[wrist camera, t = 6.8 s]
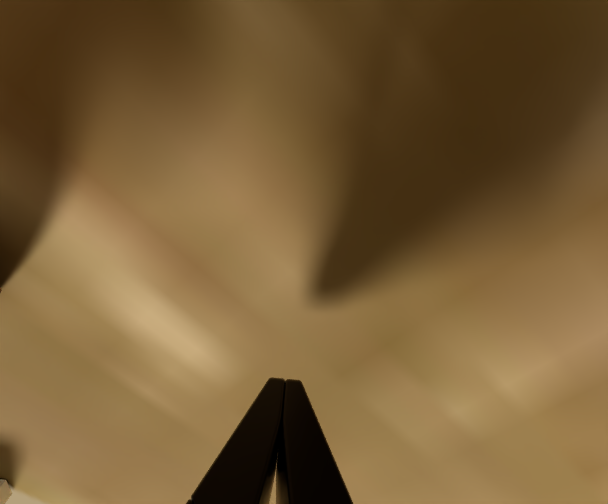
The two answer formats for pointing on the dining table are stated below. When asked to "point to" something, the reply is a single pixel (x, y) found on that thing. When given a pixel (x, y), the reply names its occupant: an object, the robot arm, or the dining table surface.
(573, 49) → the dining table surface
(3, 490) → the shelf slot
